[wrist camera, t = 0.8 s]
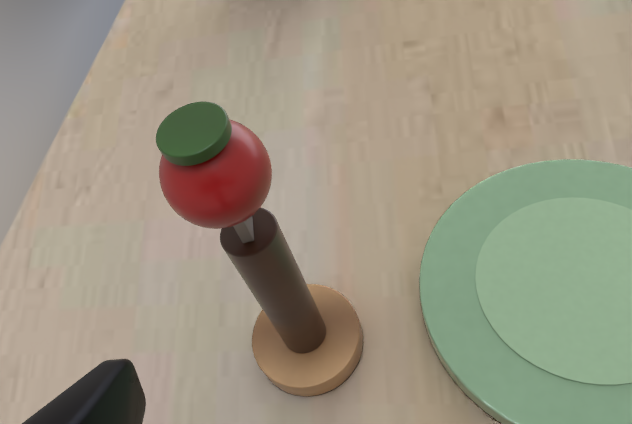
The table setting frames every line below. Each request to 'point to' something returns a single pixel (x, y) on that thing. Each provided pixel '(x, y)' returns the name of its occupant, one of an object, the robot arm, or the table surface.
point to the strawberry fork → (257, 248)
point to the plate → (537, 293)
